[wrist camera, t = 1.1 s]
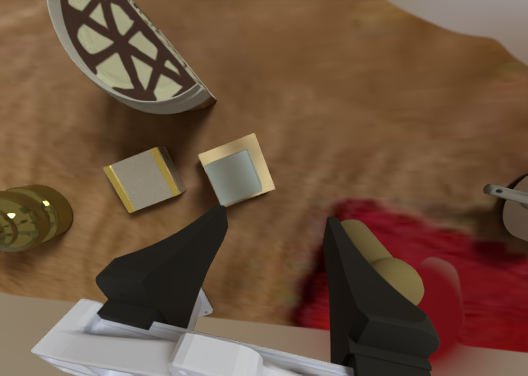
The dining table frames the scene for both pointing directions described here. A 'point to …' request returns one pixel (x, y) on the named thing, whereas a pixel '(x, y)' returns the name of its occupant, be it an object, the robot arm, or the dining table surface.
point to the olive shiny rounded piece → (31, 217)
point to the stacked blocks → (237, 170)
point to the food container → (127, 55)
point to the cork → (385, 261)
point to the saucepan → (513, 207)
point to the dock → (145, 178)
